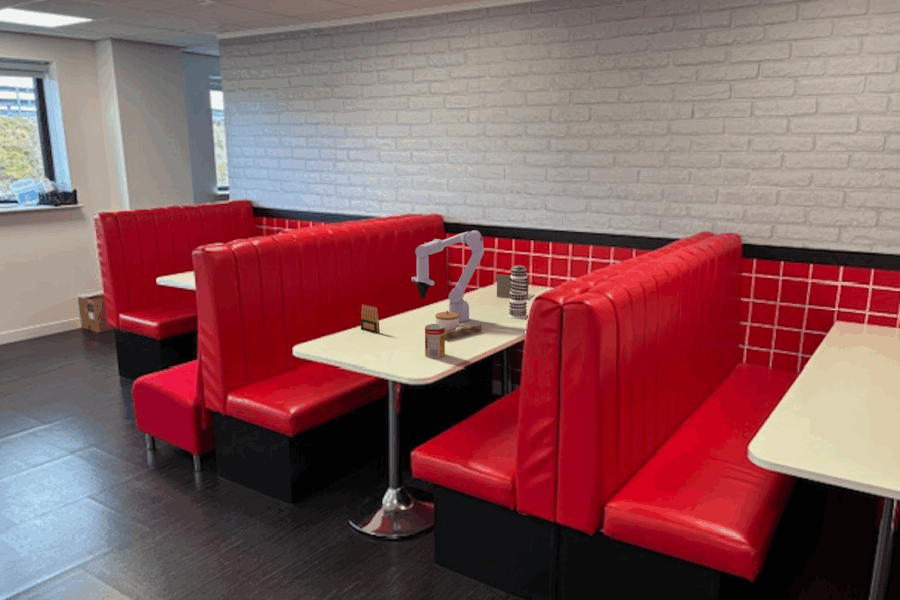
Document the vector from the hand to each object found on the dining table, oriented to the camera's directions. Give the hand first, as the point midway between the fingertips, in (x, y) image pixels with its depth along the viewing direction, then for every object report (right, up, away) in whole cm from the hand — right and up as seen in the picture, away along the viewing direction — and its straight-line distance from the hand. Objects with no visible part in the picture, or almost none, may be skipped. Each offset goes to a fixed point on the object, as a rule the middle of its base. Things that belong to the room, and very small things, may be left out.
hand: (422, 297), depth 330 cm
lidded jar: (+12, -15, -19) cm, 27 cm away
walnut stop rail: (+18, -17, -26) cm, 36 cm away
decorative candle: (+46, -9, +8) cm, 48 cm away
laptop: (+49, +1, +52) cm, 72 cm away
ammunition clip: (-23, -15, -19) cm, 34 cm away
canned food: (+7, -23, -55) cm, 60 cm away
